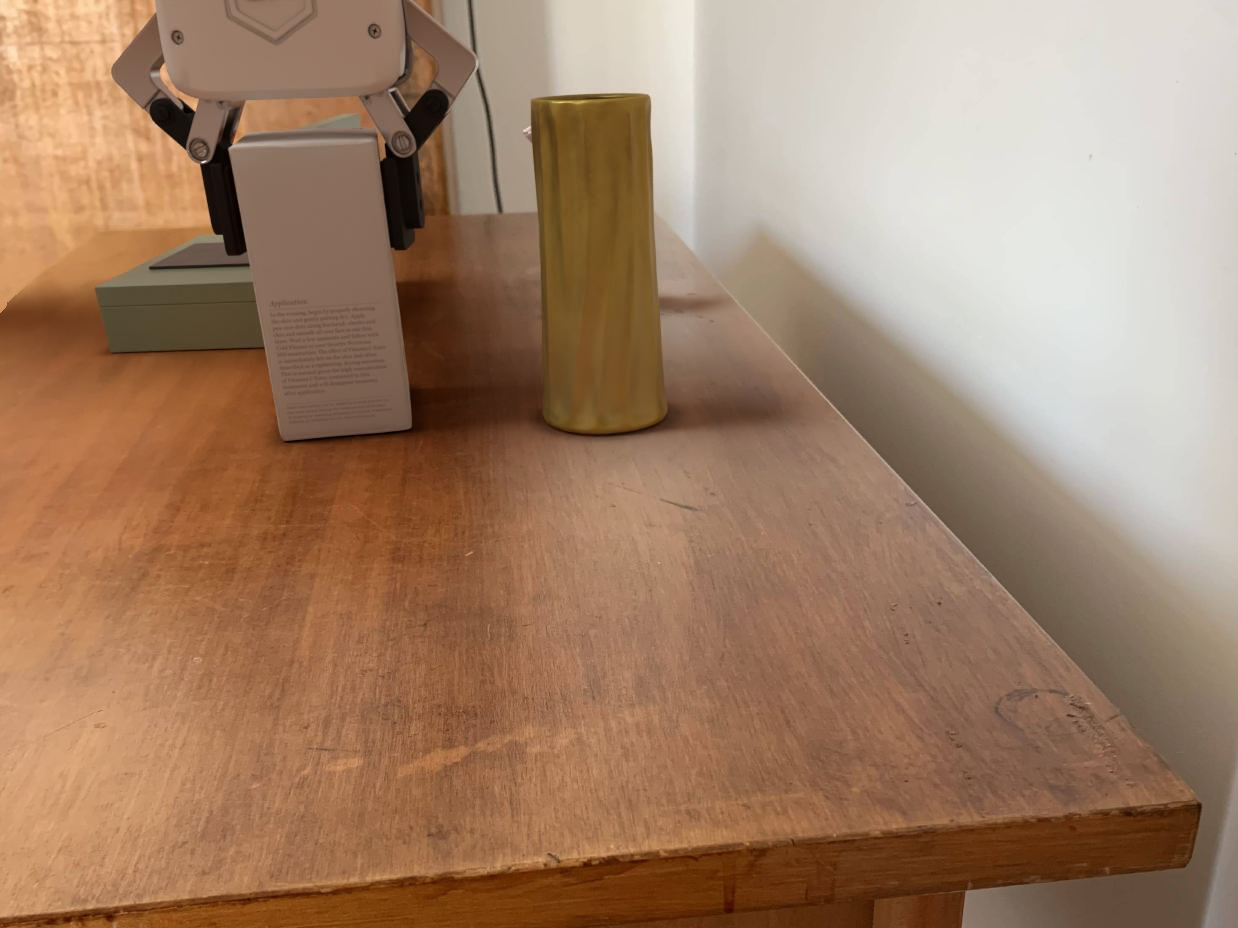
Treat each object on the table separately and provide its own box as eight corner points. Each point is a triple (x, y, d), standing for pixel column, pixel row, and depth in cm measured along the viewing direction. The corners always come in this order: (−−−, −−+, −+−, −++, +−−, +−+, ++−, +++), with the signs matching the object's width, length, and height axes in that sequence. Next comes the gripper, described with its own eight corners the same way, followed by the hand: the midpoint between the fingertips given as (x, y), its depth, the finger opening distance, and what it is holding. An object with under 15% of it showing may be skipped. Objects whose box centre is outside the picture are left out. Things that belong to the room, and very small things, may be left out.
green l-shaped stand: (110, 352, 72) (59, 143, 67) (210, 289, 90) (177, 119, 85) (322, 345, 72) (289, 136, 67) (381, 283, 90) (359, 113, 84)
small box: (288, 396, 62) (244, 130, 56) (409, 387, 63) (378, 124, 57) (277, 443, 55) (224, 144, 49) (413, 431, 56) (378, 137, 50)
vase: (518, 417, 58) (492, 99, 51) (614, 392, 61) (602, 91, 54) (594, 444, 53) (577, 102, 47) (693, 416, 57) (690, 93, 50)
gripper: (-4, -221, 44) (110, 269, 52) (459, -236, 44) (499, 256, 52) (79, -188, 50) (168, 241, 59) (480, -201, 50) (513, 230, 59)
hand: (323, 245), depth 55 cm, fingers closed on small box, 7 cm apart
